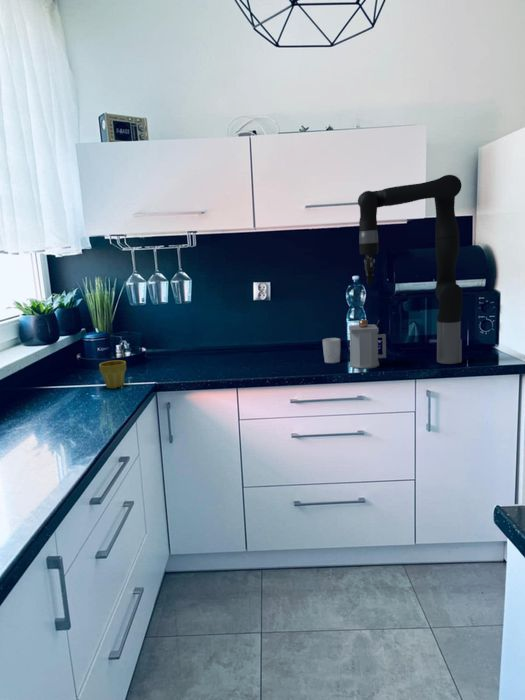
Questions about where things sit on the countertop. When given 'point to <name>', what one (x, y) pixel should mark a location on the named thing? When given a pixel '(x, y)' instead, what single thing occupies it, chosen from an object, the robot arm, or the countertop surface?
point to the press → (365, 346)
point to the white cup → (331, 350)
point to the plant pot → (113, 373)
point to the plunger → (363, 323)
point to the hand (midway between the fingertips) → (370, 284)
